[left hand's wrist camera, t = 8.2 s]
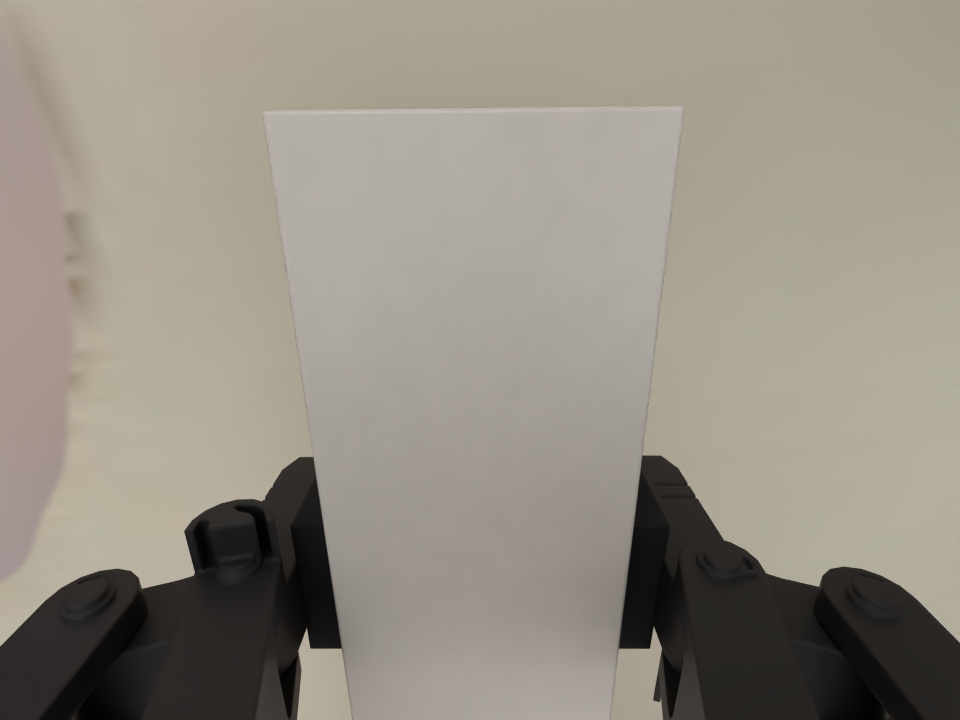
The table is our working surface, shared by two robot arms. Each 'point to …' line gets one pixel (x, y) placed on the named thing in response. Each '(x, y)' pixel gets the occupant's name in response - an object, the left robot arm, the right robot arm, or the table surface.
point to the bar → (477, 388)
